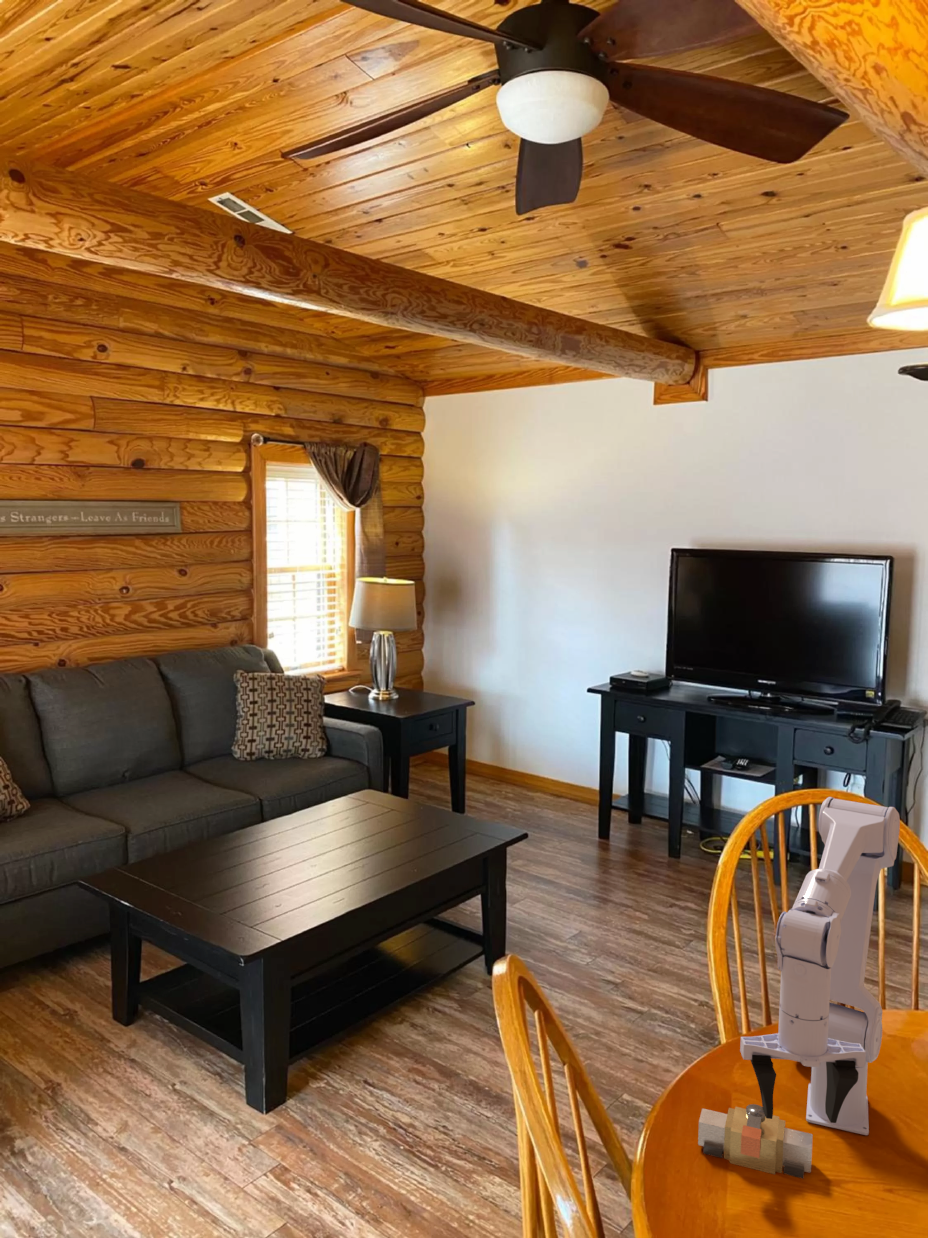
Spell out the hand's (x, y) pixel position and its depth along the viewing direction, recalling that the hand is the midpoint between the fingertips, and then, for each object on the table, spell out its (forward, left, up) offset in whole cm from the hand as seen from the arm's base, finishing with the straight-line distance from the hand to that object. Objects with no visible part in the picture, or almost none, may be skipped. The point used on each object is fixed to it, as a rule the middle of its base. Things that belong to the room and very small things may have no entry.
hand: (799, 1116), depth 115 cm
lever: (-1, -5, -5) cm, 7 cm away
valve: (-5, -5, -10) cm, 12 cm away
